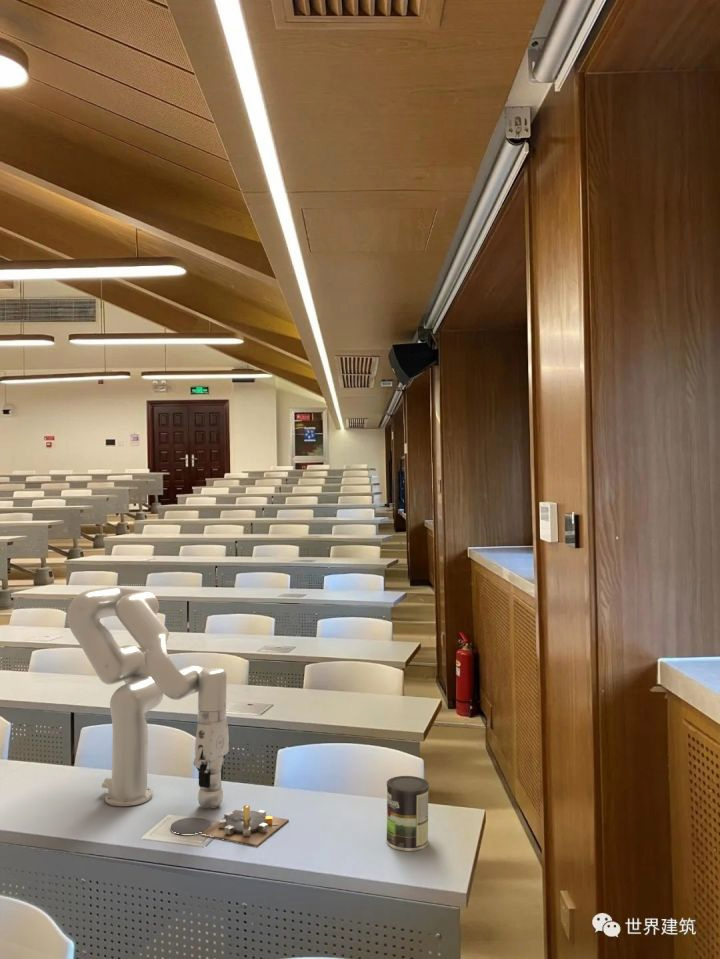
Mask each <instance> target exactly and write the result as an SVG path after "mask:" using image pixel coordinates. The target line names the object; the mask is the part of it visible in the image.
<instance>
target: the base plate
mask: <svg viewBox="0 0 720 959" xmlns="http://www.w3.org/2000/svg"><path fill="white" fill-rule="evenodd" d="M240 811H241V810H239V809H234V810H233V811H232V813H235V812H240ZM266 816H268V815H267V814H266ZM222 819H224V817H223V818H222ZM289 822H290V820H289V819H288V818H282V817H276V816H272V824H270V825H268V830H267V831H265V832H260V831H257V832H253V833H250V836H243V834H240V833H232V834H230V835H229V834H226V833H224V832H225V828H219V820H218V821H216V822H215V823H214V824H211V827H209V828H208V829H206V830H205V831H203V832H202V833H201V834H206V835H211V836H214V837H216V838H219V839H218V840H221V839H224V840H223V841H225V840H229V841H228V842H230V841H234V842H233V843H235V842H238V843H237V844H240V843H243V844H242V845H245V844H247V845H246V846H250V845H251V846H250V847H254V846H256V848H258V847H260V845H261V844H263V843H264V842H265V841H267V840H268V839H269V838H270V837H271V836H273V835H274V834H276V832H278V831H279V830H280V829H281V828H283V827H284V826H285V825H286V824H288V823H289ZM201 834H200V835H201ZM272 834H273V835H272ZM216 838H215V839H216ZM267 838H268V839H267ZM262 842H263V843H262ZM257 846H258V847H257Z"/></svg>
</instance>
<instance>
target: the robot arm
mask: <svg viewBox="0 0 720 959" xmlns="http://www.w3.org/2000/svg"><path fill="white" fill-rule="evenodd" d="M159 609H160V603H159V600H158V598H157V596H156V595H154V594H153V593H152V592H150V591H148V590H139V589H131V588H126V587H125V588H123V587H117V586H109V587H103V588H95V589H88V590H85V591H83V592H81V593H79V594H78V595H76V596H75V597H74V598H73V599H72V601H71V602H70V604H69V607H68V610H67V623H68V627H69V629H70V631H71V634H72V635H73V636H74V638H75V639H76V641H77V642H78V644H79V645H80V647H81V648H82V650H83V652H84V654H85V656H86V657H87V659H88V661H89V663H90V665H91V666H92V668H93V669H94V672H95V673H96V675H97V677H98V678H99V680H100V681H101V682H102V683H104V684H105V685H115V684H118V683H122V682H124V684H123V685H121V686H119V687H118V688H117V689H115V690H114V692H113V694H112V695H111V697H110V702H109V710H110V711H109V712H110V716H111V723H112V724H111V726H112V744H111V745H112V750H111V754H112V755H111V761H112V762H111V777H105V779H104V781H103V782H102V784H101V787H102V788H104V789H107V791H108V792H107V793H106V795H105V796H104V797H105V798H104V800H105V803H107V804H108V805H110V806H112V807H113V806H114V807H131V806H138V805H141V804H143V803H146V802H148V801H150V800H151V799H152V798H153V795H154V794H153V790H152V788H150V787H148V766H149V763H148V762H149V761H148V760H149V728H148V722H147V720H146V717H145V716H146V713H148V712H149V711H152V710H153V709H155V708H157V707H158V706H159V705H160V704H161V703H162V701H163V697H164V695H165V696H166V697H167V698H168V699H171V700H174V701H177V700H178V701H179V700H182V699H184V698H187V697H189V696H190V695H193V694H196V693H198V694H197V696H198V697H197V698H198V699H197V726H196V735H195V744H194V746H195V747H194V755H195V756H194V760H193V764H192V765H194V767H195V768H196V769H197V772H198V787H199V788H200V787H205V788H209V787H210V772H208V771H209V766H210V762H213V761H215V760H216V759H218V755H217V754H218V752H219V750H220V749H221V748H222V749H223V759H222V766H221V781H222V780H223V779H224V776H223V774H224V772H223V771H224V770H223V769H224V764H225V757H226V755H227V754H228V753H229V750H230V740H229V739H230V737H229V733H230V732H229V724H228V719H227V672H226V670H224V669H223V668H219V667H210V668H207V667H204V666H200V665H194V664H193V665H192V664H190V665H187V666H184V667H181V668H179V669H178V668H177V666H176V665H175V664H174V662H173V661H172V660H171V658H170V656H169V654H168V650H167V642H168V639H169V635H170V632H169V630H168V628H167V627H166V626H165V625H164V624H163V622H162V621H161V620H160V618H159V617H158V616H157V614H158V613H159ZM107 617H116V618H117V619H118V620H119V622H120V623H121V625H123V626H124V628H125V630H126V631H127V632H128V633H129V635H130V636H131V637H132V638H133V639H134V641H135V642H136V643H137V645H138V646H139V647H140V648H141V650H140V649H139V648H138V647H137V646H134V645H130V644H129V645H122V646H121V645H120V646H119V644H118V643H117V642H116V640H115V638H114V636H113V634H112V632H110V630H109V629H108V628H107V627H106V626H105V625H103V624H102V622H100V619H103V618H107ZM202 757H204V758H205V760H203V759H202ZM203 762H206V766H204V764H203Z"/></svg>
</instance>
